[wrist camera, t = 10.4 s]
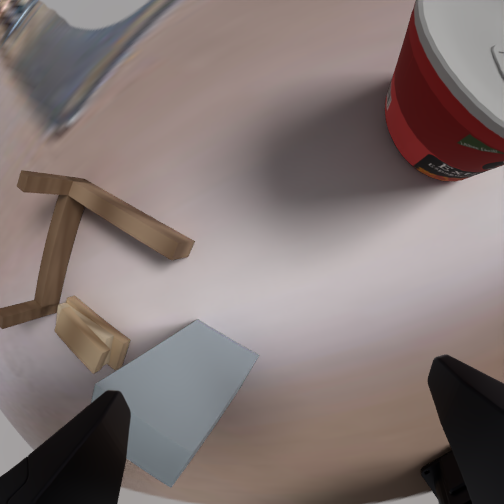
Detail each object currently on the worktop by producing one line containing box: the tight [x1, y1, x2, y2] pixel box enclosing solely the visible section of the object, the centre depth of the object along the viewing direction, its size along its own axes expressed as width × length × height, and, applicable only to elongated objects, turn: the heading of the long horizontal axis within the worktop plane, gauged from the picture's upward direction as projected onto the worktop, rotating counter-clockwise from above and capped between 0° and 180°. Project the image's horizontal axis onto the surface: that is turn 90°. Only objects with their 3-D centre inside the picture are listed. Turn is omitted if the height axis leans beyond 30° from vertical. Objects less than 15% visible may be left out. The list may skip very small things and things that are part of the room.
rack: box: [0, 170, 195, 329], centre depth 21 cm, size 12×13×7 cm
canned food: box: [385, 0, 504, 181], centre depth 11 cm, size 8×8×11 cm
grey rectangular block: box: [91, 319, 259, 487], centre depth 17 cm, size 5×3×11 cm, turn 64°
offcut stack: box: [54, 296, 130, 374], centre depth 23 cm, size 7×4×3 cm, turn 64°
